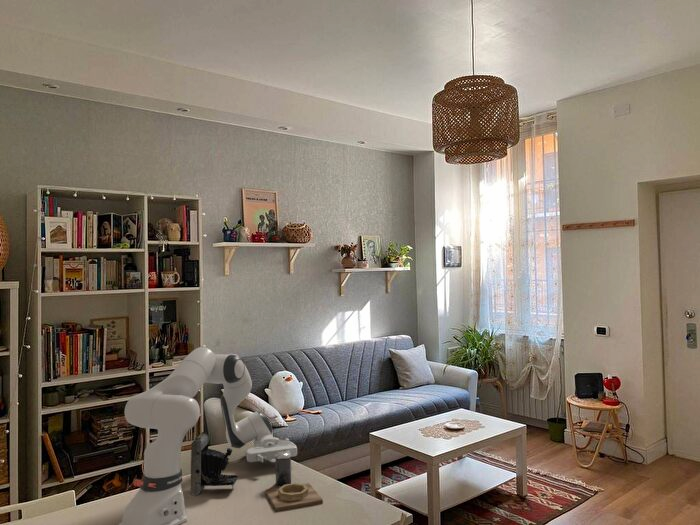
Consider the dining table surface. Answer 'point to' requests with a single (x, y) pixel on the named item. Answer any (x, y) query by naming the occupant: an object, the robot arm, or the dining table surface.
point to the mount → (293, 496)
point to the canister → (283, 468)
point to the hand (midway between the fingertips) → (275, 458)
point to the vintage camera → (208, 466)
